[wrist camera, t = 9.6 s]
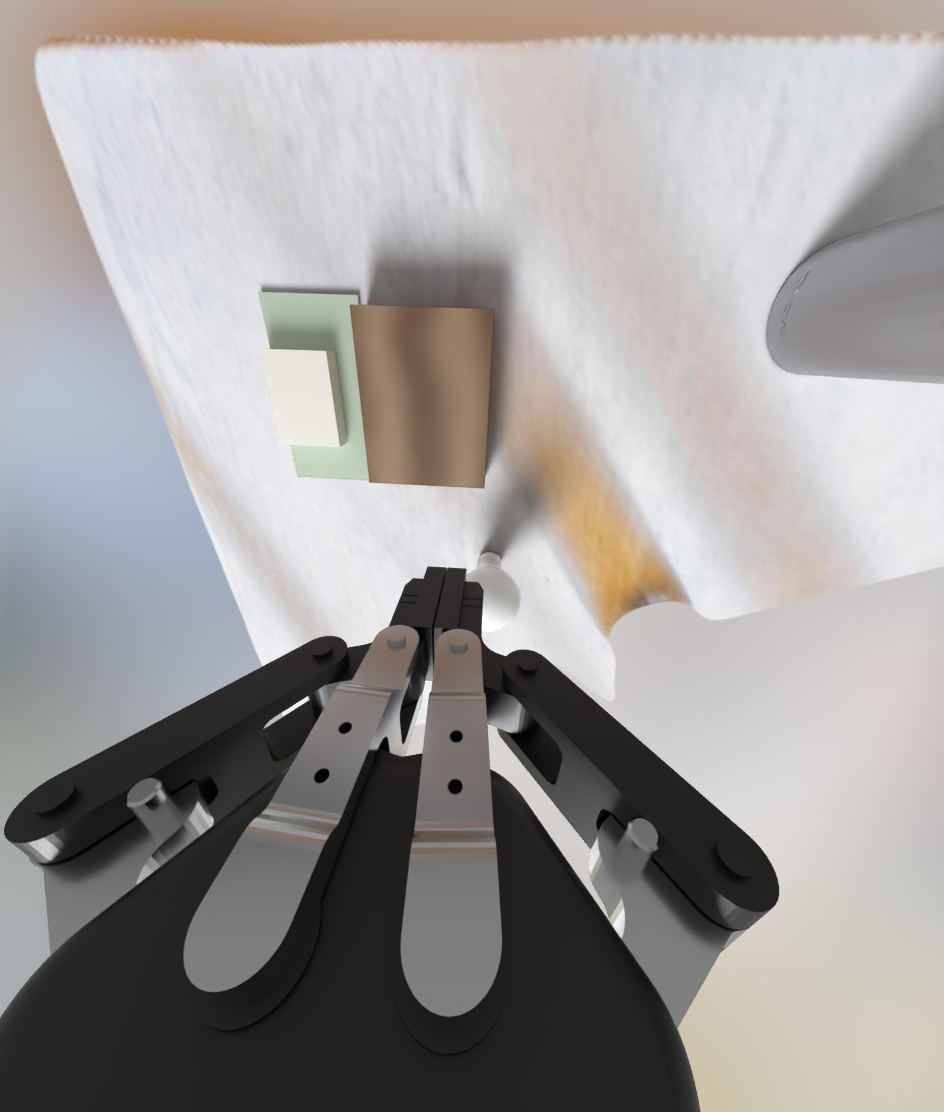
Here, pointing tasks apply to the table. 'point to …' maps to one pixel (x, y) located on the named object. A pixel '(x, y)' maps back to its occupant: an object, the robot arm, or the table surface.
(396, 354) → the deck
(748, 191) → the table surface
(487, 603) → the lightbulb
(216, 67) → the table surface
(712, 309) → the table surface
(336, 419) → the white flat block
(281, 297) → the mat
